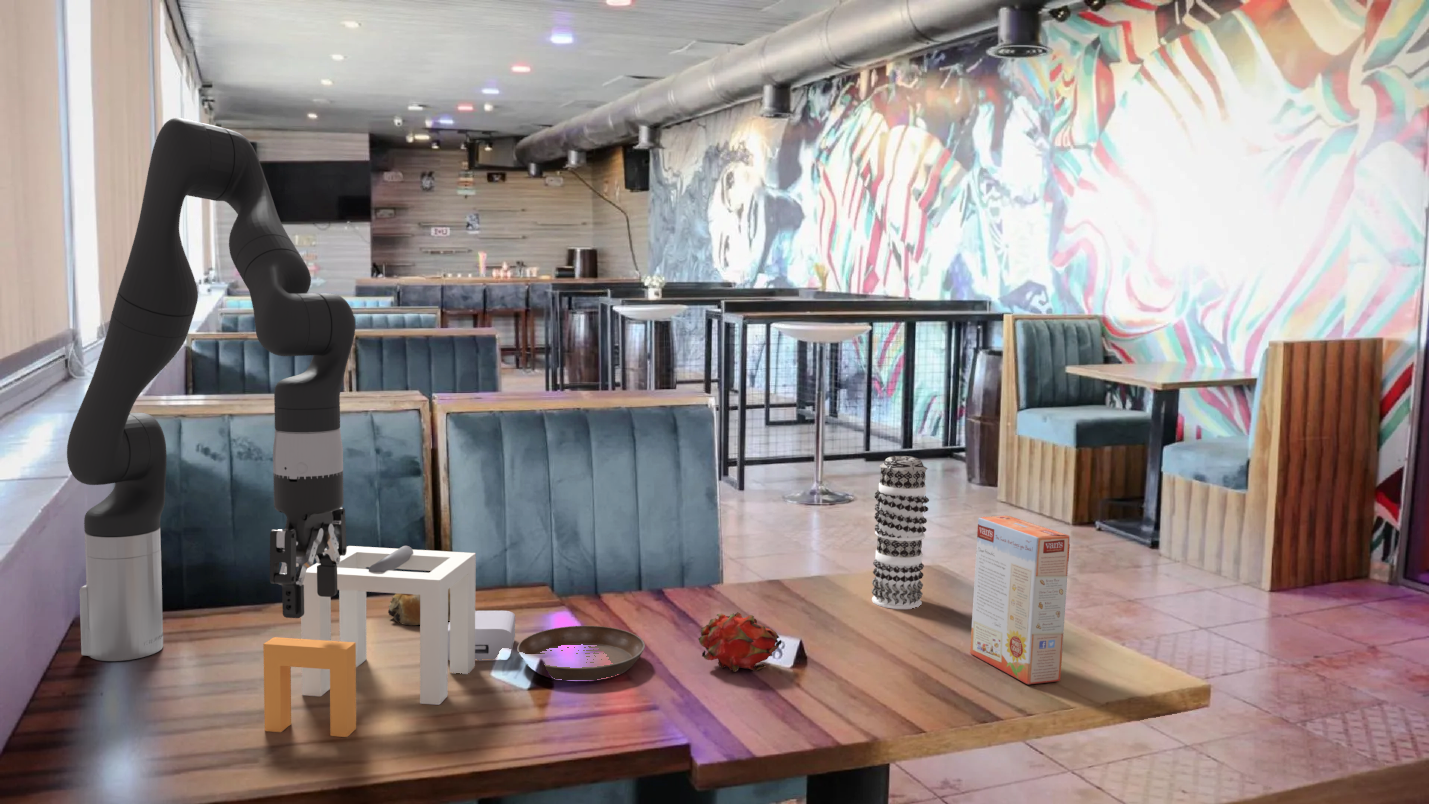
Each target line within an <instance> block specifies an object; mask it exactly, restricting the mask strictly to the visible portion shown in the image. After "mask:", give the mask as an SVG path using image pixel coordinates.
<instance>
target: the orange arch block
mask: <svg viewBox="0 0 1429 804" xmlns="http://www.w3.org/2000/svg"><path fill="white" fill-rule="evenodd" d="M262 647H263V651H262V652H263V692H264V693H263V699H264V700H263V701H264V702H263V705H264V706H263V709H264V710H263V711H264V732H273V733H282V732H283V731H284V730H286V729H287V728H288V727H289V726H291V724H292V680H291V679H292V677H291V676H292V670H291V668H302V667H303V668H318V669H330V689H329V701H330V702H329V712H330V713H329V717H330V719H329V721H330V722H329V724H330V727H329V728H330V729H329V731H330V732H329V733H330V737H338V738H339V737H340V738H341V737H342V738H348V737H349V736H350V735H352V734H353V732H354V731H356V729H357V689H356V688H357V682H356V681H357V669H356V668H357V667H356V642H342V641H340V640H331V641H326V640H311V639H301V638H294V637H293V638H292V637H280V636H278V637H277V636H274V637H272V638H270V639H269V640H267V641H266V642H264V643H263V646H262Z"/></svg>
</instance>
